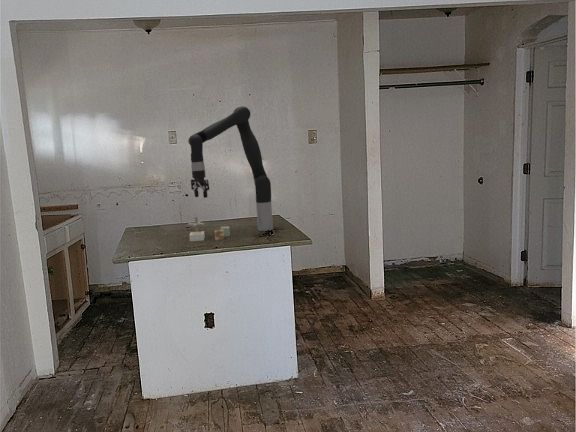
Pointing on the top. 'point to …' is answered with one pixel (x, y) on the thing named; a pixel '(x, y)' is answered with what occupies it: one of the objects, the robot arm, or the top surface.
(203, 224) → the pipe connector
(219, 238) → the oak block
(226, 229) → the sage block
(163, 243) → the top surface
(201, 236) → the white base
